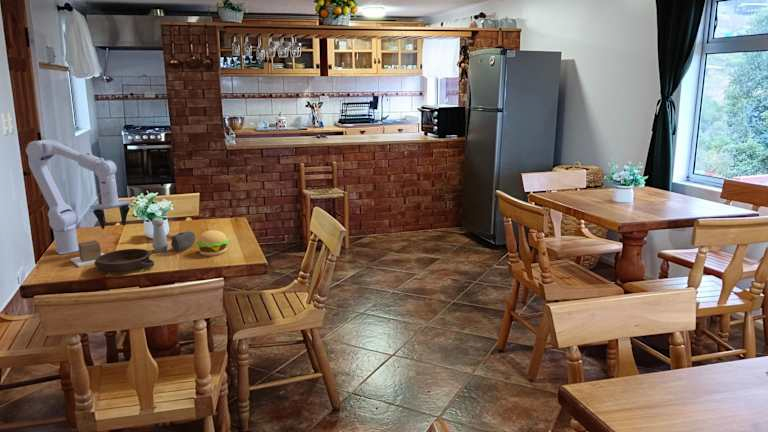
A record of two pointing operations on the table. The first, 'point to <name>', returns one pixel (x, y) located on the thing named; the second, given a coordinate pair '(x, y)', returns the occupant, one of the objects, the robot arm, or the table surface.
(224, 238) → the hamburger
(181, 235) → the perforated stone tool
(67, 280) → the table surface
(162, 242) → the salt shaker
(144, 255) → the dish
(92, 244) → the walnut cube
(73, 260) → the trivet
